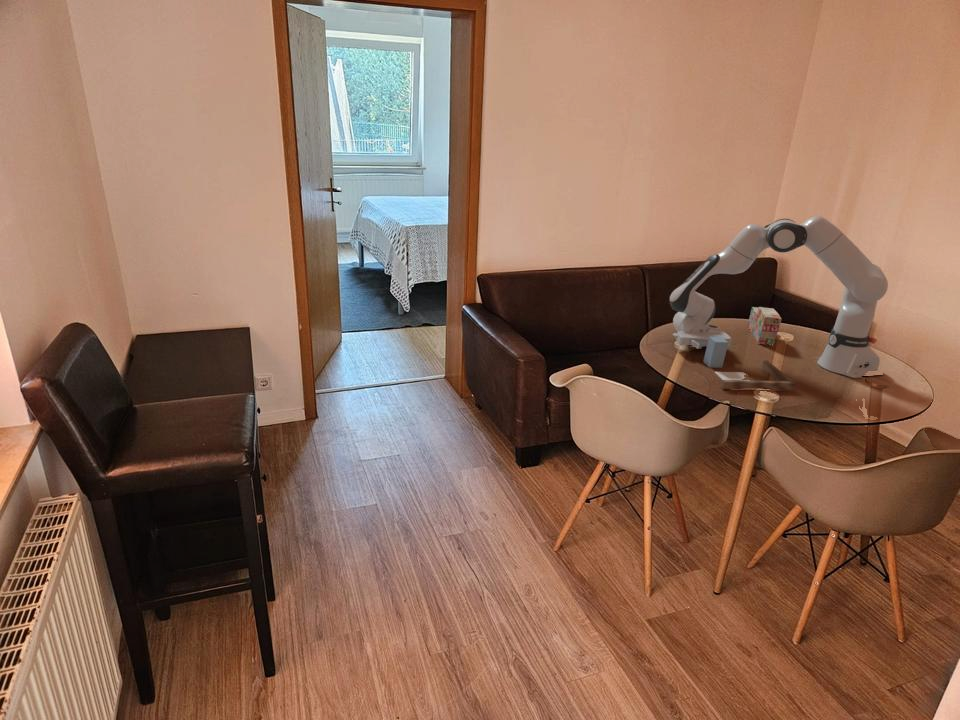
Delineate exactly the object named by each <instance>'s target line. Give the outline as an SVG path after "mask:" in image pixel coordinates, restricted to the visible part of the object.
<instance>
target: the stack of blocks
mask: <svg viewBox="0 0 960 720" xmlns="http://www.w3.org/2000/svg"><path fill="white" fill-rule="evenodd" d="M781 322H782V317H781V316H780V314H779V313H778V312H777V311H776V310H775V309H774V308H771V307H763V306H758V307H757V306H756V307H754V306H751V310H750V315H749V318H748V322H747V326H748V327H749V328H748V327H747V328H748V330H749V329H750V330H749V332H750V331H751V332H752V333H753V335H752V337H753V336H754V337H755V338H754V337H753V338H754V340H755V339H756V340H755V342H756V341H757V342H756V343H760V344H771V345H772V344H774V345H775V341H776V338H777V336H778V332H779V329H780V325H781ZM751 332H750V333H751ZM775 337H776V338H775ZM760 344H759V345H760Z"/></svg>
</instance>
